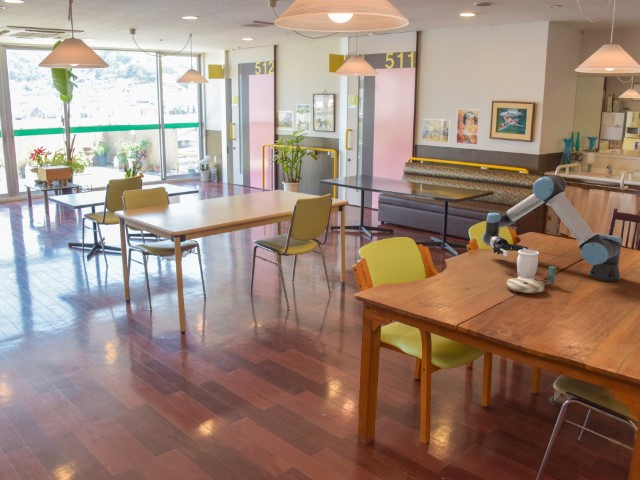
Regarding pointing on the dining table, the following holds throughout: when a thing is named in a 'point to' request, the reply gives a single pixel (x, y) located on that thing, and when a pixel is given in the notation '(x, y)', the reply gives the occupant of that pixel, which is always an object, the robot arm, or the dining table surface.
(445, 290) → the dining table surface
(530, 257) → the jar
